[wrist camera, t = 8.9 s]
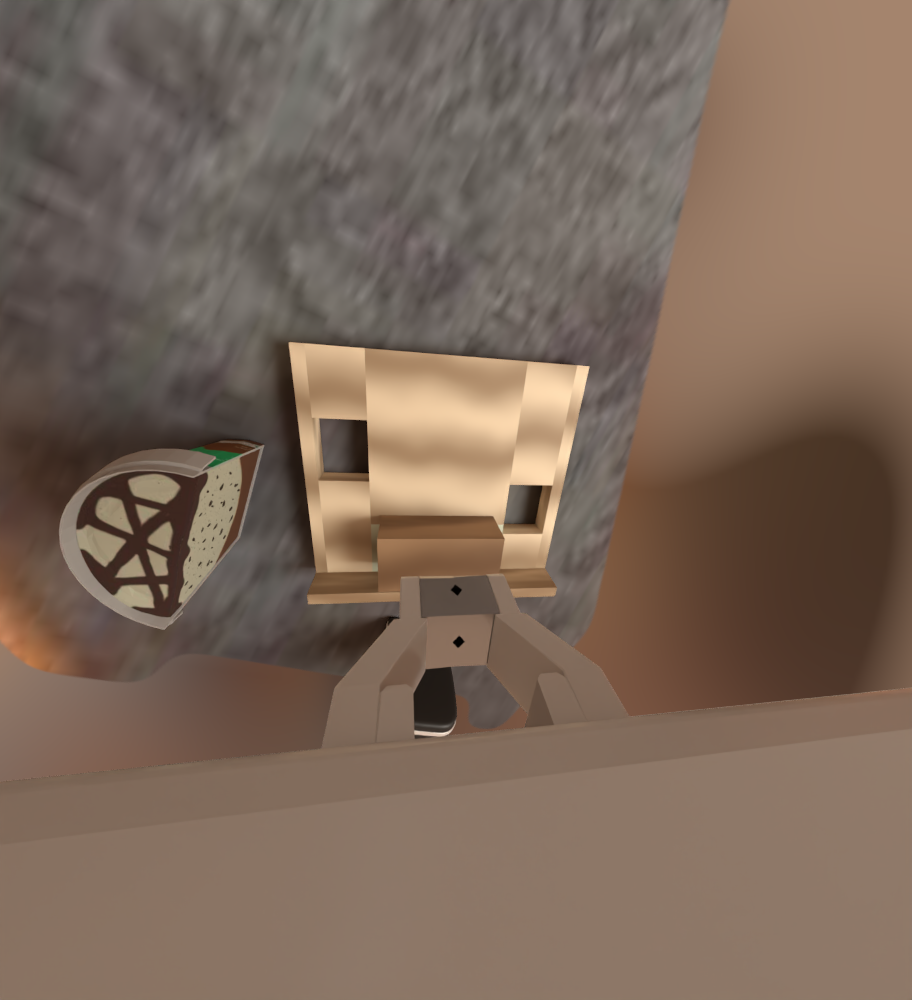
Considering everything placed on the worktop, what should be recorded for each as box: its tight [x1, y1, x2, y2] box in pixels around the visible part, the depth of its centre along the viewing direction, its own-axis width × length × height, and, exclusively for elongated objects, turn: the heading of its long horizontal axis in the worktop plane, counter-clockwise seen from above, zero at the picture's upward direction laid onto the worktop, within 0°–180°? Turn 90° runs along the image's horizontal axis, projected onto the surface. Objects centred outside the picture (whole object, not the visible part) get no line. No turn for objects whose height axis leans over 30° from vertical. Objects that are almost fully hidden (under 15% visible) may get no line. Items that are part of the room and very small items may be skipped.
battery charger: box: [386, 618, 457, 739], centre depth 32 cm, size 7×4×11 cm, turn 68°
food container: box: [59, 439, 264, 630], centre depth 23 cm, size 12×6×10 cm, turn 155°
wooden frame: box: [289, 342, 589, 604], centre depth 27 cm, size 20×22×5 cm
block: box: [377, 515, 505, 592], centre depth 28 cm, size 5×10×4 cm, turn 86°
